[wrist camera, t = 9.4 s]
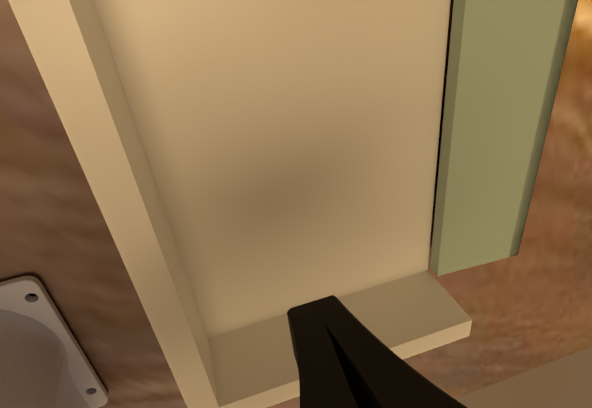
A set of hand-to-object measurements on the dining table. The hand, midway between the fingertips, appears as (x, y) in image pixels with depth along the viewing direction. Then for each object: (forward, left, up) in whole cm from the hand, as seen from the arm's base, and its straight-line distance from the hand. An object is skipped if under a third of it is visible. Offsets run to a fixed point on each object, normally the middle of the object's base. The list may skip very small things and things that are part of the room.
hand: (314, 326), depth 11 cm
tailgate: (+2, -9, -8) cm, 12 cm away
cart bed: (+2, -2, -9) cm, 10 cm away
